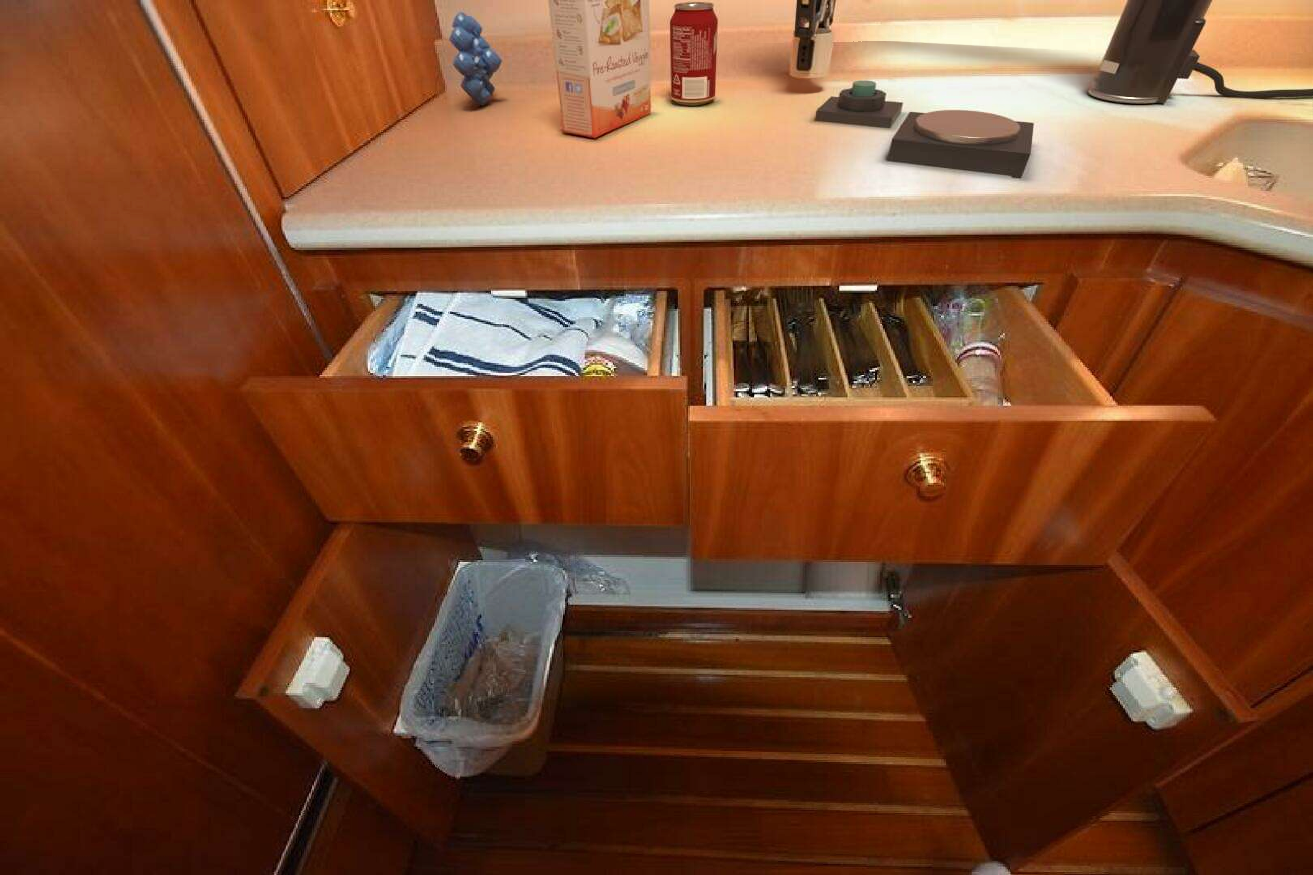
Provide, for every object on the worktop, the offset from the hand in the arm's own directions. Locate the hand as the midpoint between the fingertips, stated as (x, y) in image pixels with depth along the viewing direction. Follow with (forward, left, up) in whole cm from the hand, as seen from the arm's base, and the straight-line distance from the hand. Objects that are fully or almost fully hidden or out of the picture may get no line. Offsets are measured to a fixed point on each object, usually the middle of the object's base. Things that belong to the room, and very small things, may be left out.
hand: (809, 65), depth 90 cm
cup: (0, 0, -1) cm, 1 cm away
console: (-11, +12, -4) cm, 16 cm away
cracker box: (+20, +27, -4) cm, 34 cm away
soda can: (+14, +12, -4) cm, 19 cm away
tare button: (-11, +12, -1) cm, 16 cm away
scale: (-25, +23, -4) cm, 34 cm away
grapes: (+43, +25, -4) cm, 50 cm away
